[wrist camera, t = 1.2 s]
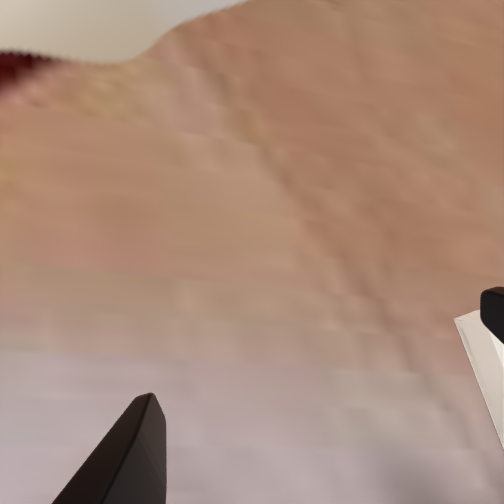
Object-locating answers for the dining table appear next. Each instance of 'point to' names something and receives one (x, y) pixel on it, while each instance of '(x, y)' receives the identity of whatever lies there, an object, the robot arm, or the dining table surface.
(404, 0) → the dining table surface
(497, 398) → the stoneware dish
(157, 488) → the robot arm
